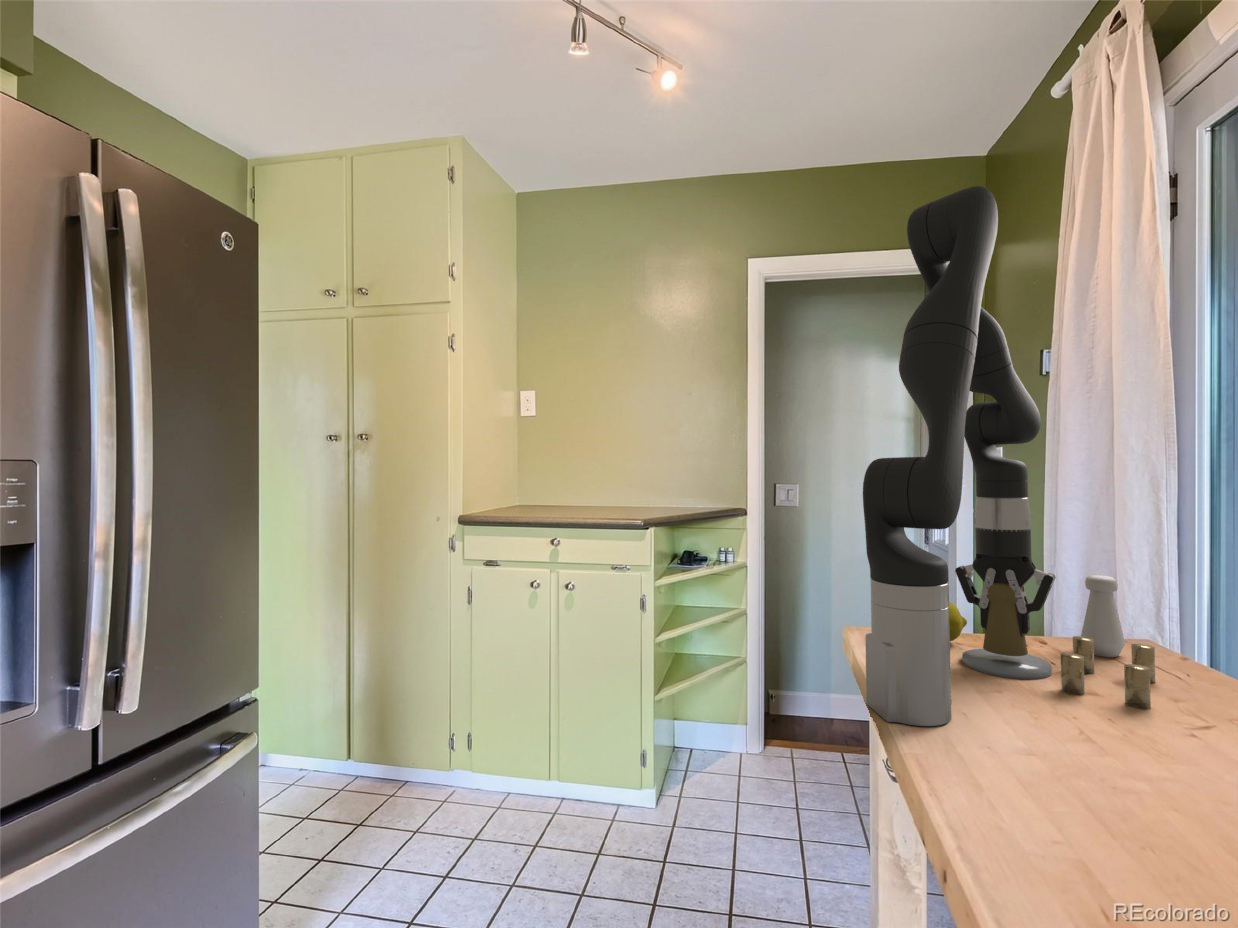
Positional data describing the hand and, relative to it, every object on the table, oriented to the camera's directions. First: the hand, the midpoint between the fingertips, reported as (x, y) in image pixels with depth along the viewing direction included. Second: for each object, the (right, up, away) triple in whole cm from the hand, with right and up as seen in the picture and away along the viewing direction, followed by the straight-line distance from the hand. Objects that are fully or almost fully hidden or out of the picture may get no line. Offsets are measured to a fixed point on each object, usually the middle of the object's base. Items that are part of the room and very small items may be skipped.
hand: (1004, 632), depth 97 cm
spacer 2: (+10, -5, -3) cm, 12 cm away
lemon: (-4, -6, +14) cm, 16 cm away
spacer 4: (+7, -5, -16) cm, 19 cm away
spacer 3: (+16, -5, -7) cm, 18 cm away
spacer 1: (+3, -5, -11) cm, 13 cm away
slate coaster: (0, -5, 0) cm, 5 cm away
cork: (0, -3, 0) cm, 3 cm away
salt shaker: (+20, -5, +6) cm, 21 cm away
